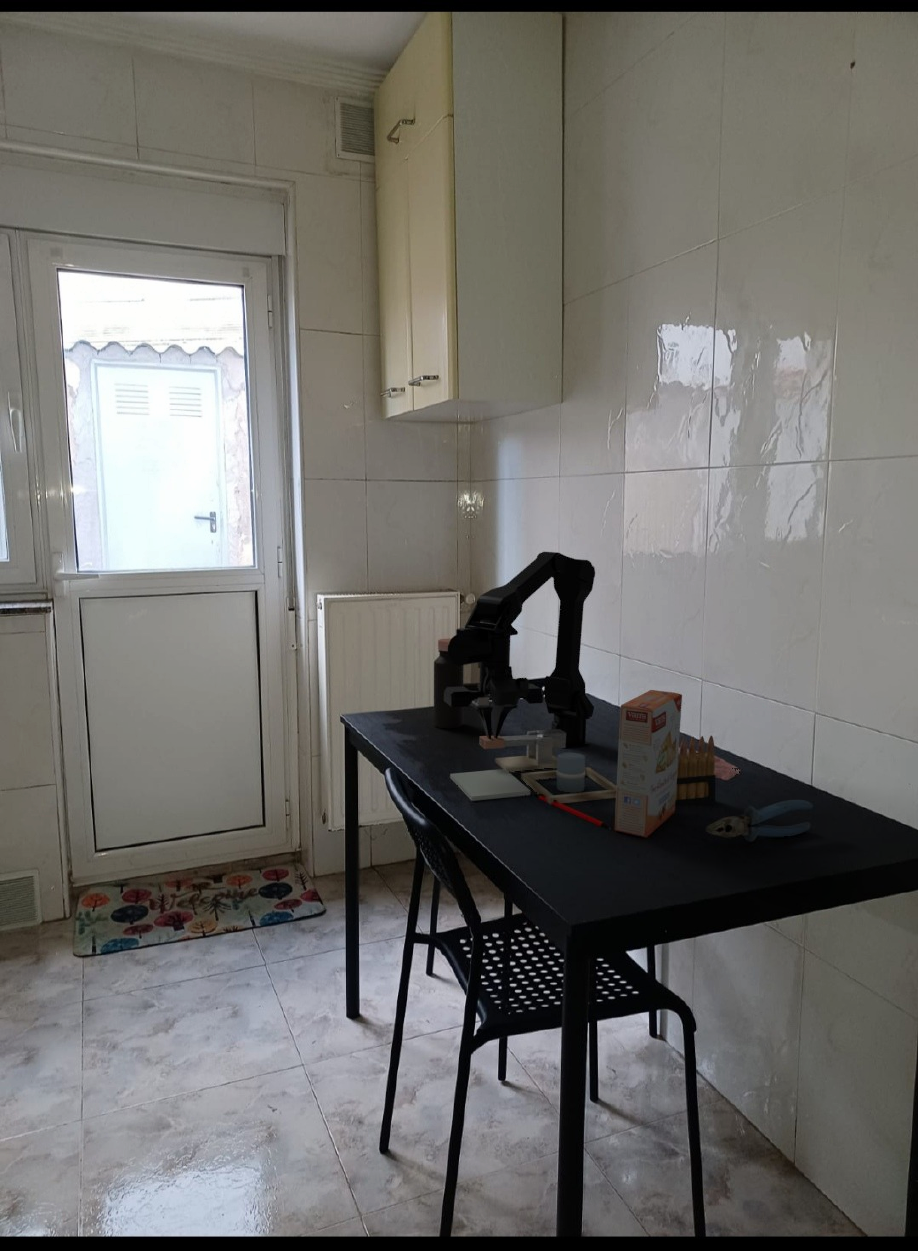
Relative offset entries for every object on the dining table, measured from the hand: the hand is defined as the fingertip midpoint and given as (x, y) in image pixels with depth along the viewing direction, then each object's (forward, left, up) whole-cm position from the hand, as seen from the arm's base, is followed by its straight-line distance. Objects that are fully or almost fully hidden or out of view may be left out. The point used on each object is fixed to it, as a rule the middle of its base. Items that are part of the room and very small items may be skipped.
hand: (492, 738), depth 171 cm
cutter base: (-8, 0, -6) cm, 10 cm away
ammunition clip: (-26, +28, -6) cm, 39 cm away
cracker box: (-15, +34, -6) cm, 38 cm away
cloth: (-39, +7, -7) cm, 40 cm away
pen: (-5, +26, -7) cm, 27 cm away
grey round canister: (-10, +15, -6) cm, 19 cm away
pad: (+4, +10, -6) cm, 12 cm away
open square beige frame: (-10, +15, -6) cm, 19 cm away
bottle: (-1, -33, -6) cm, 34 cm away
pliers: (-28, +46, -6) cm, 54 cm away
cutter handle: (-6, 0, -2) cm, 7 cm away
